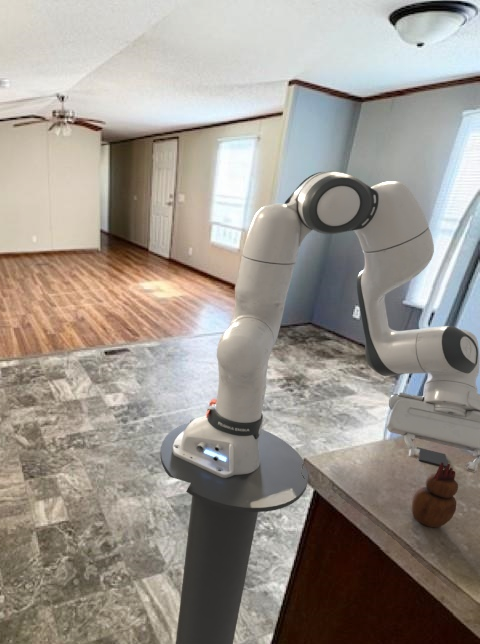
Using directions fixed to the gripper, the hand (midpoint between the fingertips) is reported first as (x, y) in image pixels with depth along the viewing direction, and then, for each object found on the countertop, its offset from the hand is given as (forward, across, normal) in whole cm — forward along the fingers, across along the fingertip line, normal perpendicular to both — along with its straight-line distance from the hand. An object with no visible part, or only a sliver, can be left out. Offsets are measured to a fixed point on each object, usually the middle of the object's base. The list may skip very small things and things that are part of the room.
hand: (441, 464), depth 86 cm
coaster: (-8, +4, +24) cm, 26 cm away
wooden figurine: (+11, 0, +6) cm, 13 cm away
